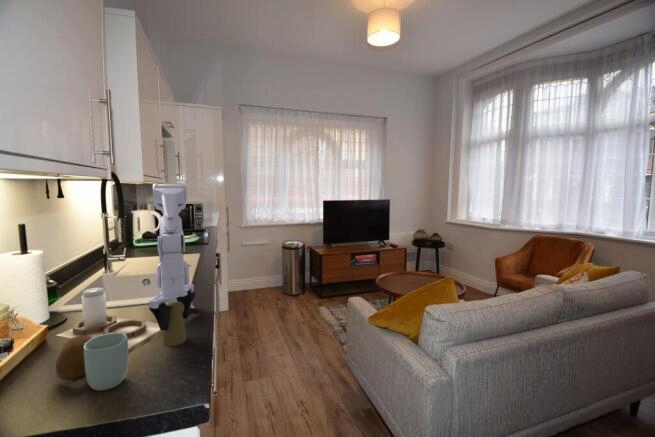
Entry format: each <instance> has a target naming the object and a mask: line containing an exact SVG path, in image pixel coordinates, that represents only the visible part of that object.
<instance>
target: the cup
mask: <svg viewBox="0 0 655 437" xmlns="http://www.w3.org/2000/svg"><path fill="white" fill-rule="evenodd" d="M128 350H129V348H128V338H127V335H126V334H124V333H110V334H104V335H101V336H97V337H95V338H93V339H91V340H89V341H88V342H86V344H85V345H84V349H83V353H84V367H85V379H86V382H87V384H88V386H89V387H90V388H91V389H92V390H94V391H100V392H101V391H107V390H111V389H114V388H115V387H117V386H119V385H120V384H121V383H122V382H123V381H124V380H125V378H126V376H127V373H128V370H129V358H130V357H129V355H130V353H128Z"/></svg>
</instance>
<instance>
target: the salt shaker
mask: <svg viewBox="0 0 655 437" xmlns="http://www.w3.org/2000/svg"><path fill="white" fill-rule="evenodd" d="M104 290H105V289H104V287H93V288H87V289H85V290H83V292H82V295H81V309H82V320H83V325H84V328H85V329H88V328H93V327H99V326H102V325H105V324H107V315H108V312H107V294H106V293H107V292H106V291H104Z"/></svg>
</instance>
